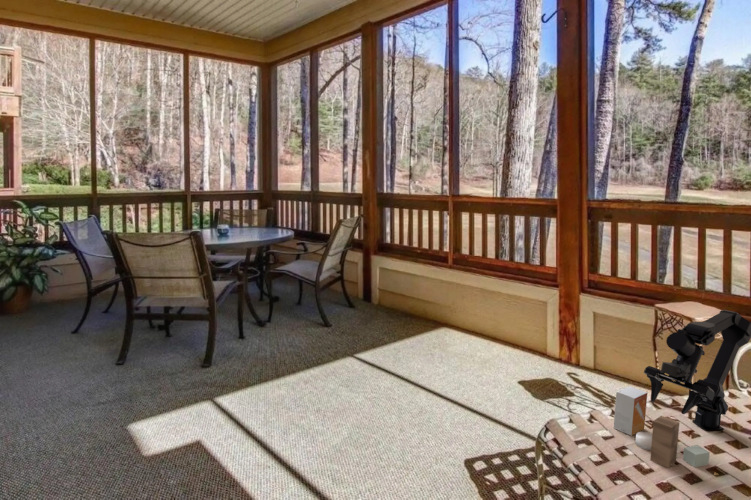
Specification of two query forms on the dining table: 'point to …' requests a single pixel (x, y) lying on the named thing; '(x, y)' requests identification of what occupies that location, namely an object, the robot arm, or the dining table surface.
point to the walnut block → (664, 441)
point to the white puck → (644, 440)
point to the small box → (630, 410)
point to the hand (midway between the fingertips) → (667, 407)
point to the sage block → (696, 456)
